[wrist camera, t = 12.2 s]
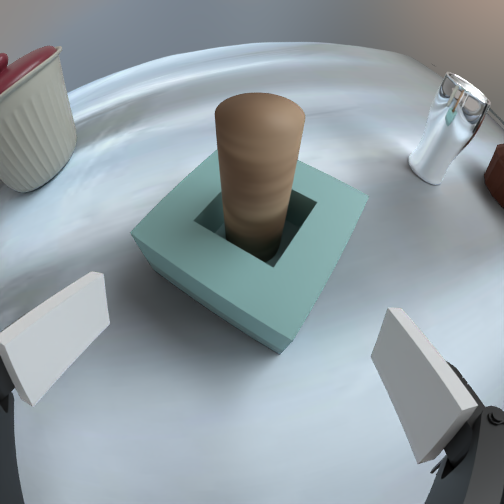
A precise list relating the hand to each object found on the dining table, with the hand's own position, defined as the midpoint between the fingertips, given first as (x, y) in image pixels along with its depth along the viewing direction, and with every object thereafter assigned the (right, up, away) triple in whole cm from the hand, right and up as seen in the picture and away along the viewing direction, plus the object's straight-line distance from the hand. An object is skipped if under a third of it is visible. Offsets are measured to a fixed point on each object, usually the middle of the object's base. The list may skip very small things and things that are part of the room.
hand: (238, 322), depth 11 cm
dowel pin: (+1, +4, +11) cm, 12 cm away
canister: (-31, +16, +20) cm, 40 cm away
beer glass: (+25, +15, +20) cm, 36 cm away
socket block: (+1, +3, +13) cm, 13 cm away
